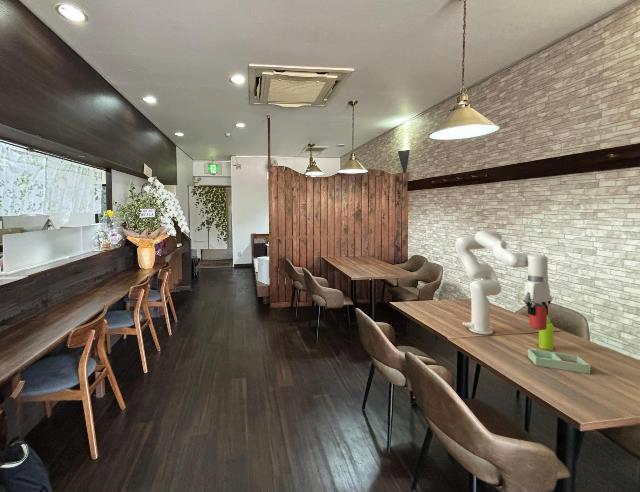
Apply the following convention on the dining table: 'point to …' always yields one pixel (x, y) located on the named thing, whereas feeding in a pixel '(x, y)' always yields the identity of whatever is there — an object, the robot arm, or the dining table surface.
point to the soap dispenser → (546, 336)
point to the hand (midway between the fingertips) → (537, 313)
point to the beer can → (538, 317)
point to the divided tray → (558, 361)
